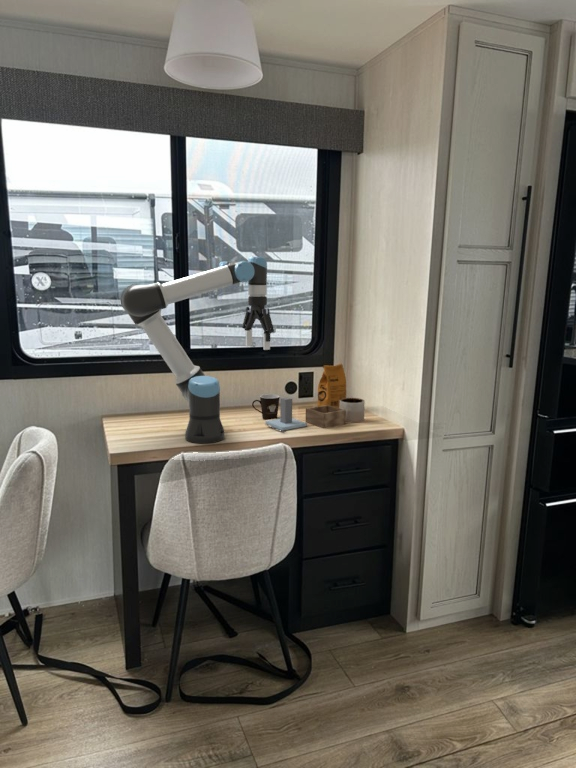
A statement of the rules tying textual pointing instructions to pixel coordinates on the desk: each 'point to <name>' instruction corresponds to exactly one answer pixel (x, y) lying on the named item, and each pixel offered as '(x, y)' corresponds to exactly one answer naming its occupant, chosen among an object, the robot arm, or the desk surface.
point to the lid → (285, 417)
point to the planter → (353, 409)
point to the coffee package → (332, 386)
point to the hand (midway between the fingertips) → (257, 347)
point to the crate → (325, 416)
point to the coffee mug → (268, 406)
